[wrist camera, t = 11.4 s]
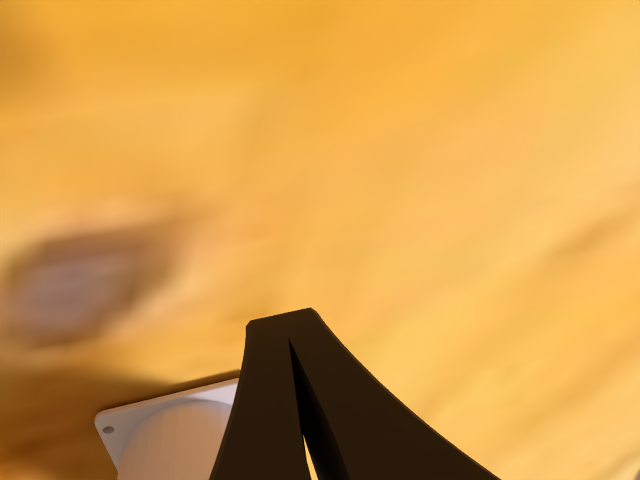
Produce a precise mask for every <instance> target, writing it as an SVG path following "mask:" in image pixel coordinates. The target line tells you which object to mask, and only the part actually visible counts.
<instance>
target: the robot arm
mask: <svg viewBox="0 0 640 480" xmlns="http://www.w3.org/2000/svg"><path fill="white" fill-rule="evenodd" d="M94 425H95V427H96V429H97V431H98V433H99V435H100V437H101V439H102V441H103V443H104V445H105V447H106V449H107V451H108V453H109V455H110V457H111V459H112V461H113V463H114V465H115V467H116V469H117V471H118V476H117V480H311V476H310V472H309V468H308V464H307V459H306V452H305V445H304V438H305V441H306V444H307V447H308V450H309V453H310V456H311V459H312V462H313V465H314V468H315V471H316V474H317V477H318V480H501V479H499V478H498V477H497V476H495V475H494V474H492V473H491V472H490V471H488V470H487V469H486V468H484V467H483V466H481V465H480V464H479V463H477V462H476V461H474V460H473V459H472V458H470V457H469V456H468V455H466V454H465V453H463V452H462V451H461V450H460V449H458V448H457V447H456V446H454V445H453V444H452V443H450V442H449V441H448V440H447V439H445V438H444V437H443V436H441V435H440V434H439V433H438V432H436V431H435V430H434V429H433V428H431V427H430V426H429V425H428V424H426V423H425V422H424V421H423V420H422V419H421V418H419V417H418V416H417V415H416V414H415V413H413V412H412V411H411V410H410V409H409V408H408V407H407V406H405V405H404V404H403V403H402V402H401V401H400V400H399V399H398V398H396V397H395V396H394V395H393V394H392V393H391V392H390V391H389V390H388V389H387V388H386V387H385V386H383V385H382V384H381V383H380V382H379V381H378V380H377V379H376V378H375V377H374V376H373V375H372V374H371V373H370V372H369V371H368V370H367V369H366V368H365V367H364V366H363V365H362V364H361V363H360V362H359V361H358V360H357V359H356V358H355V357H354V356H353V355H352V354H351V352H350V351H349V350H348V349H347V348H346V347H345V346H344V345H343V344H342V343H341V341H340V340H339V339H338V338H337V337H336V336H335V335H334V333H333V332H332V331H331V330H330V329H329V327H328V326H327V325H326V324H325V322H324V321H323V320H322V319H321V317H320V316H319V314H318V313H317V312H316V311H315V310H314V309H312V308H306V309H301V310H297V311H292V312H288V313H283V314H278V315H274V316H269V317H265V318H260V319H255V320H251V321H250V322H249V323H248V324H247V326H246V340H245V349H244V356H243V362H242V367H241V372H240V377H239V378H235V379H231V380H227V381H223V382H219V383H215V384H211V385H207V386H203V387H198V388H194V389H190V390H186V391H182V392H178V393H174V394H170V395H166V396H161V397H157V398H153V399H149V400H145V401H141V402H137V403H133V404H128V405H124V406H120V407H116V408H112V409H108V410H104V411H101V412H99V413H98V414H97V415H96V417H95V421H94ZM107 426H111V427H107ZM303 435H304V438H303Z"/></svg>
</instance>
